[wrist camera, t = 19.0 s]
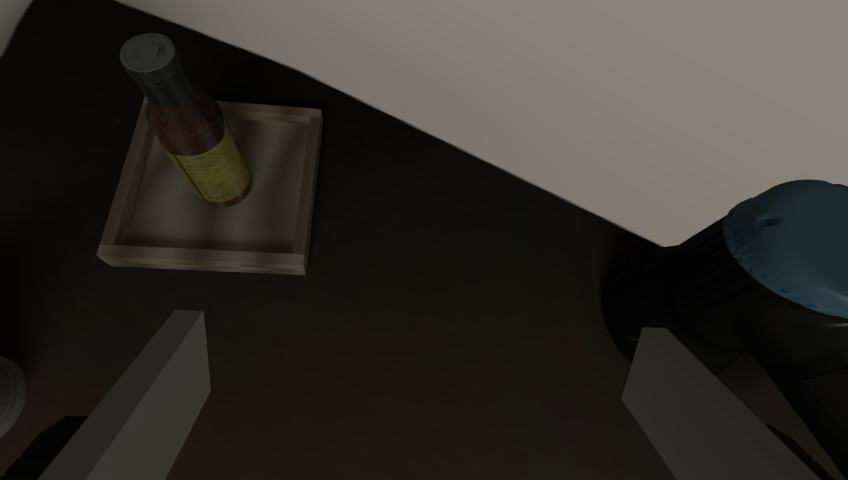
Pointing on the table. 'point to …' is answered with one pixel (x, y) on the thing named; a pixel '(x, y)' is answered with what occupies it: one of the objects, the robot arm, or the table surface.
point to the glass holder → (11, 393)
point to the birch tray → (220, 226)
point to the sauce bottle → (187, 121)
